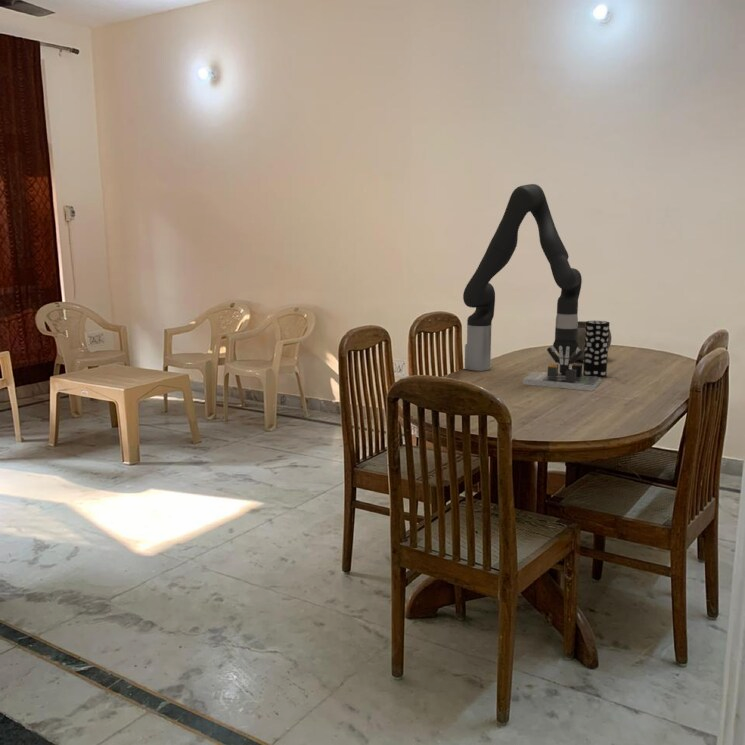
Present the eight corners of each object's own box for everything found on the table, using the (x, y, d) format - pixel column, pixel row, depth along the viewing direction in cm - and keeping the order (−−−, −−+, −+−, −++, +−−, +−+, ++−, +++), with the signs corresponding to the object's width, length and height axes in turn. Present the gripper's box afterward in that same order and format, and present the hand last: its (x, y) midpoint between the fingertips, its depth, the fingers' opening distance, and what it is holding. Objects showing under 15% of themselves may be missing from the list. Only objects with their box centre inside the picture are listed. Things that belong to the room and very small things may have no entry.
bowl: (550, 361, 311) (551, 324, 308) (566, 353, 329) (568, 318, 325) (601, 366, 301) (604, 328, 297) (615, 358, 318) (618, 322, 315)
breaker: (547, 376, 272) (547, 365, 271) (549, 374, 275) (549, 363, 274) (555, 376, 271) (556, 365, 270) (557, 375, 273) (558, 364, 272)
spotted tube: (607, 378, 279) (610, 324, 275) (583, 377, 281) (586, 323, 277) (605, 373, 287) (608, 320, 283) (582, 373, 289) (585, 320, 285)
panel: (523, 384, 271) (523, 367, 269) (533, 376, 283) (534, 360, 282) (592, 390, 260) (593, 373, 259) (600, 382, 273) (601, 365, 271)
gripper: (544, 326, 267) (542, 375, 270) (583, 329, 261) (581, 378, 265) (550, 323, 273) (547, 371, 277) (587, 326, 268) (585, 374, 271)
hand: (564, 374), depth 271 cm, fingers closed
